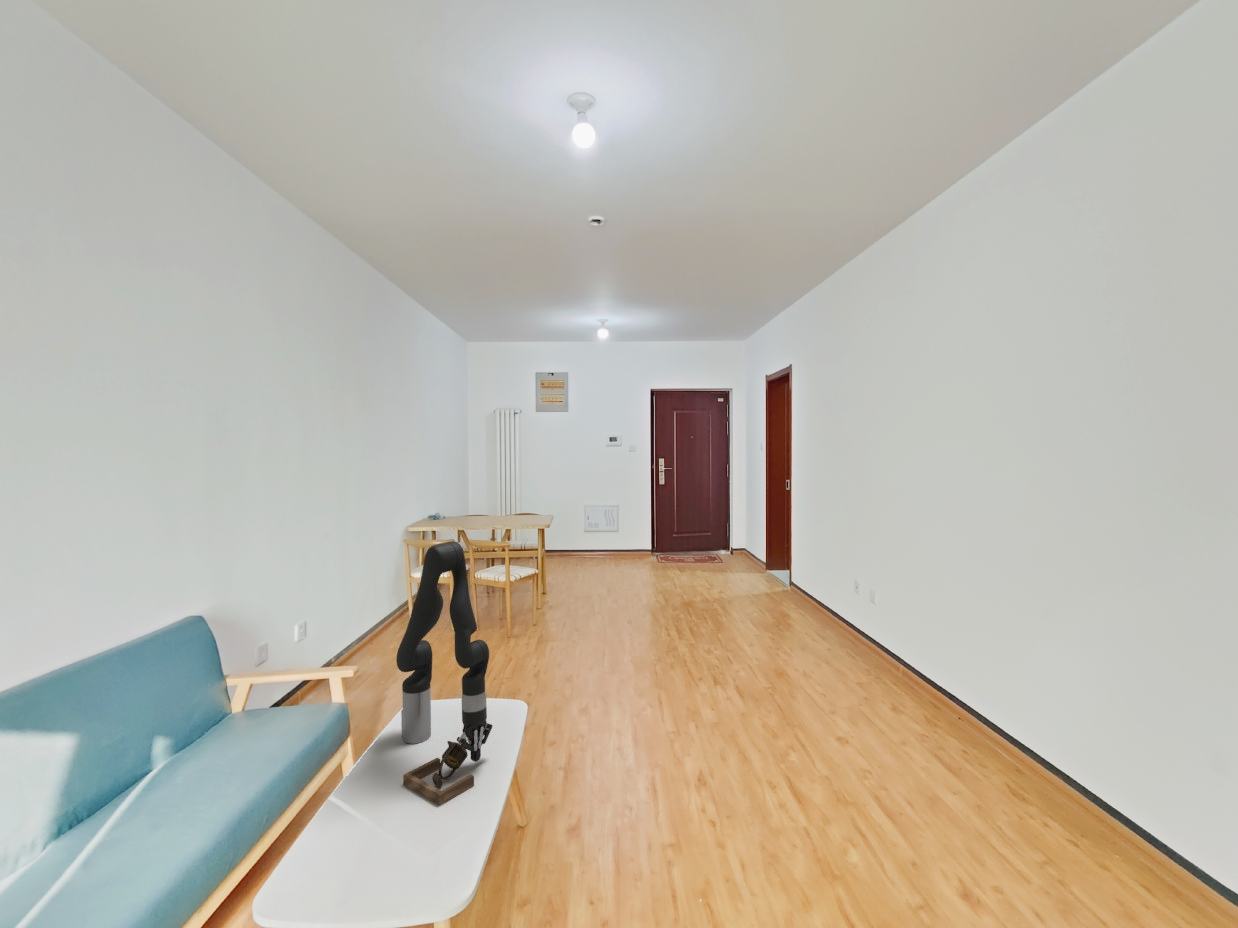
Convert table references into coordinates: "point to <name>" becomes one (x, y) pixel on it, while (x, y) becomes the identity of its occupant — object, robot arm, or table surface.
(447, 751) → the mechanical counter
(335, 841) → the table surface
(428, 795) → the bracket
